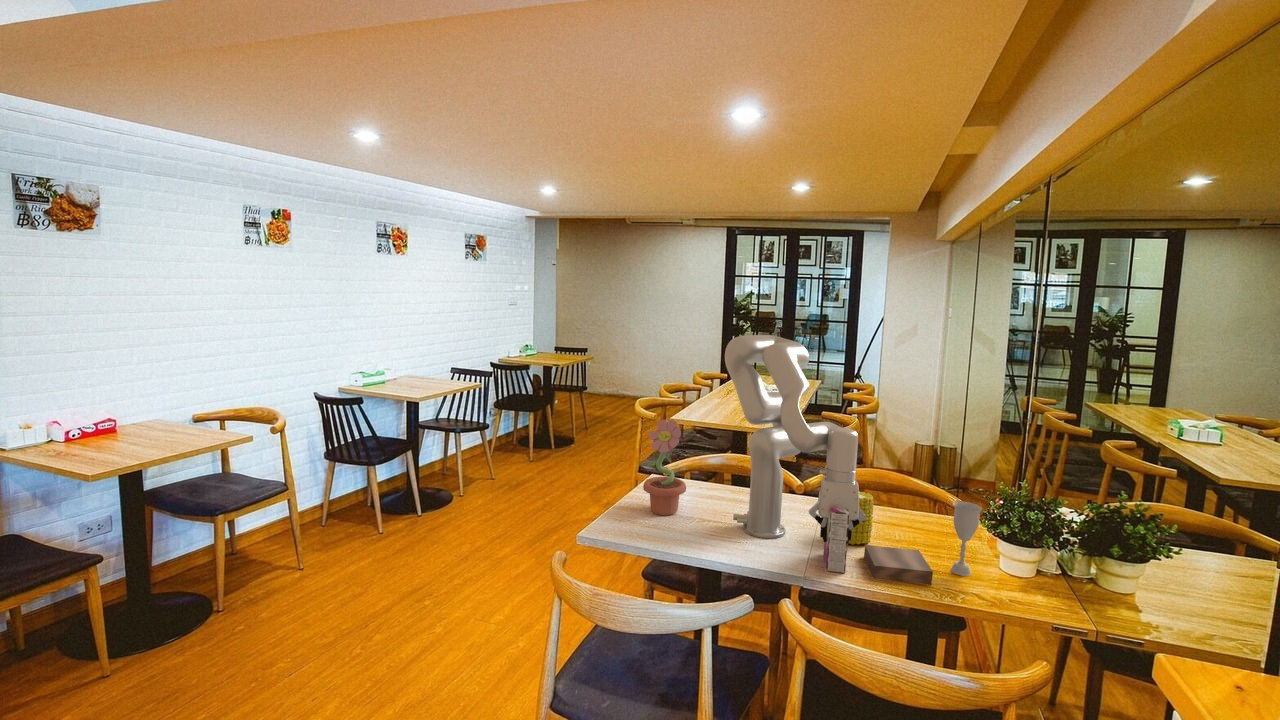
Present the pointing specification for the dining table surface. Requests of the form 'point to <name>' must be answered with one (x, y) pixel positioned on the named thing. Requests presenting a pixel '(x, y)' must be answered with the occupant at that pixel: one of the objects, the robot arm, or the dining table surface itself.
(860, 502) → the food
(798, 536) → the dining table surface
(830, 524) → the candy bar box
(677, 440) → the decorative flower
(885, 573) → the walnut block
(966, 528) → the chalice
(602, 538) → the dining table surface
